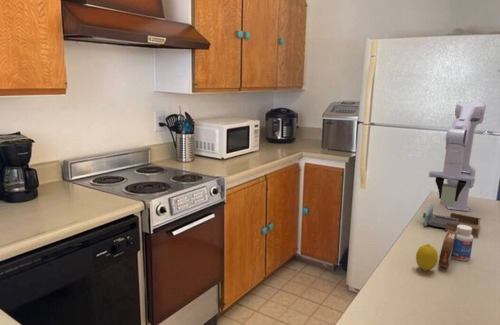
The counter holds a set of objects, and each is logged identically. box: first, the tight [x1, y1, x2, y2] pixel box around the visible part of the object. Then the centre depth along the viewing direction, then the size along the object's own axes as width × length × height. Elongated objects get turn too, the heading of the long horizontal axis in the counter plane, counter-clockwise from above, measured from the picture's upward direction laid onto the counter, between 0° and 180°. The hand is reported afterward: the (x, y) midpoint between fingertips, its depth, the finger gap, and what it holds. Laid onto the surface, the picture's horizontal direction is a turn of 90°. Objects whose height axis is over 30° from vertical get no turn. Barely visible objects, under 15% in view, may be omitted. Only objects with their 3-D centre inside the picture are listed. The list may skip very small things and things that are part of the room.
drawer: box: [422, 204, 459, 229], centre depth 146 cm, size 15×11×4 cm
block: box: [439, 182, 457, 207], centre depth 142 cm, size 4×4×7 cm
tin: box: [437, 230, 457, 268], centre depth 116 cm, size 15×3×8 cm, turn 147°
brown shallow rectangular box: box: [444, 212, 482, 239], centre depth 142 cm, size 13×10×3 cm
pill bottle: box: [451, 225, 474, 262], centre depth 119 cm, size 6×5×10 cm
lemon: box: [415, 243, 439, 272], centre depth 110 cm, size 6×6×8 cm
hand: (448, 199), depth 142 cm, fingers closed on block, 4 cm apart
